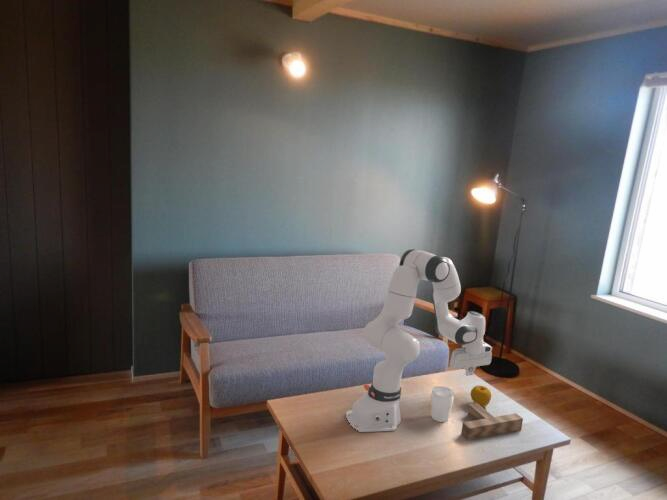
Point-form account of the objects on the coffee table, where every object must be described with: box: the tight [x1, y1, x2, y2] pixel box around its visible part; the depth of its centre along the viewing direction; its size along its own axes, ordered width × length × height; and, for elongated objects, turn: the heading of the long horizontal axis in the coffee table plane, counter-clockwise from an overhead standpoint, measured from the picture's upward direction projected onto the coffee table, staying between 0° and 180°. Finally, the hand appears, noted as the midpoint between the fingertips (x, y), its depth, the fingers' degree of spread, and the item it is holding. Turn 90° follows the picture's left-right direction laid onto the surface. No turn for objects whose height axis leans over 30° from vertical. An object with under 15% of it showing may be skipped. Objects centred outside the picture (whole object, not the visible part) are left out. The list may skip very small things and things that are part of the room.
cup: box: [430, 385, 455, 423], centre depth 188 cm, size 9×9×12 cm
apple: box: [470, 385, 492, 408], centre depth 200 cm, size 9×8×9 cm
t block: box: [460, 402, 524, 441], centre depth 186 cm, size 26×15×5 cm, turn 110°
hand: (469, 374), depth 208 cm, fingers closed
